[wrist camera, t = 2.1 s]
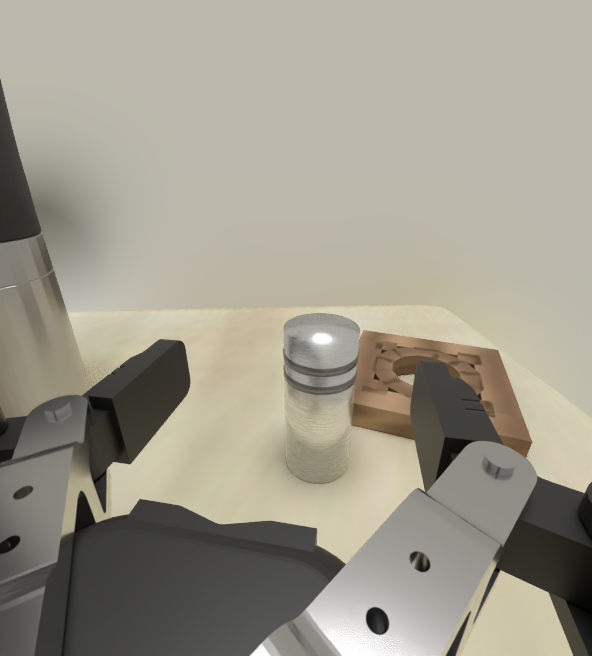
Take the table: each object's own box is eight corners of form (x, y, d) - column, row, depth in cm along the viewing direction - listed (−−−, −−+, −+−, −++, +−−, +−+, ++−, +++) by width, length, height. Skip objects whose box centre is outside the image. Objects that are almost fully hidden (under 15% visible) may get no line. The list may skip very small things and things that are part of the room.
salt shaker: (275, 472, 27) (270, 337, 22) (298, 429, 31) (298, 309, 26) (340, 492, 25) (351, 351, 20) (354, 443, 29) (366, 318, 24)
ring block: (332, 419, 32) (333, 398, 31) (361, 346, 46) (363, 330, 45) (523, 465, 27) (532, 442, 26) (492, 368, 41) (498, 350, 40)
